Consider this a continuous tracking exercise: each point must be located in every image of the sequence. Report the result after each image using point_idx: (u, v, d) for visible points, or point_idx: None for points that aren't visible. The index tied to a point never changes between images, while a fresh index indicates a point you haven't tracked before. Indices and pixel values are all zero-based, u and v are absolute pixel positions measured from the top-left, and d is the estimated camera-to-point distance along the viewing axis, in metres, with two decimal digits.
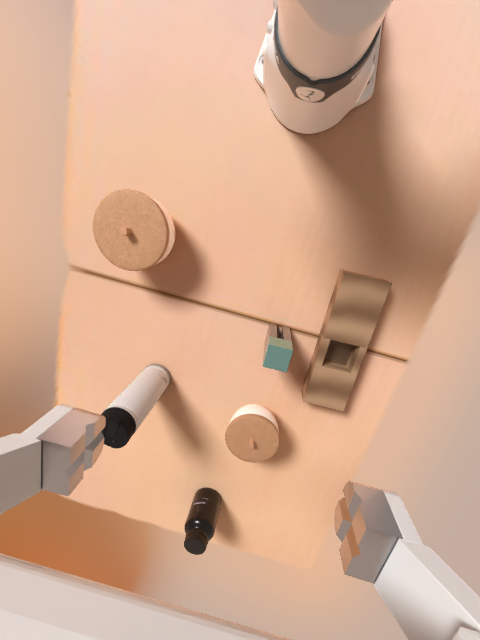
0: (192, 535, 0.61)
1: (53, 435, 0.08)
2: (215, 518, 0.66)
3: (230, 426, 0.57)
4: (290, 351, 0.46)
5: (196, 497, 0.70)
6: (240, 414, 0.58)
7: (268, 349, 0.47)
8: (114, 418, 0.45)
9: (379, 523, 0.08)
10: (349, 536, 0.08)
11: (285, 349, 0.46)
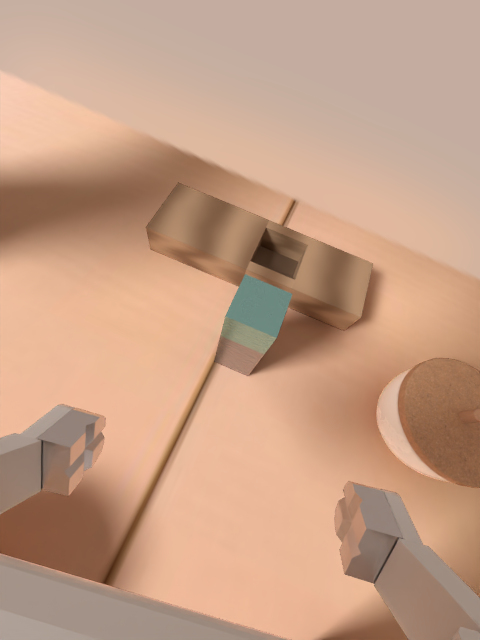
0: None
1: (53, 435, 0.08)
2: None
3: (438, 465, 0.23)
4: (246, 279, 0.23)
5: None
6: (403, 437, 0.25)
7: (237, 318, 0.21)
8: None
9: (379, 523, 0.08)
10: (349, 536, 0.08)
11: (241, 286, 0.22)
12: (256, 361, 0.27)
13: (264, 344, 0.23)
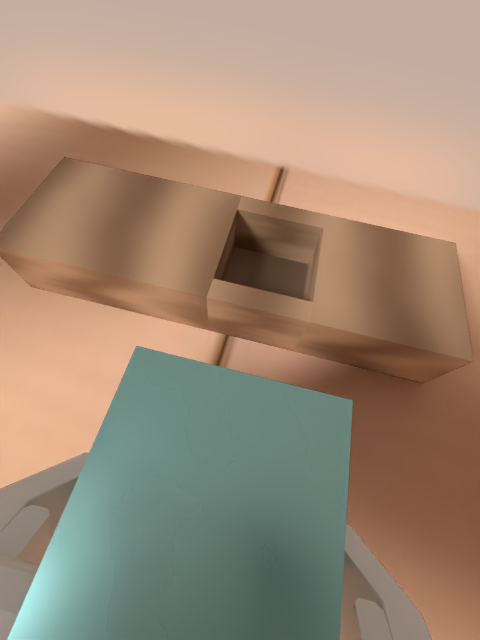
0: None
1: None
2: None
3: None
4: (141, 369, 0.05)
5: None
6: None
7: None
8: None
9: None
10: None
11: (115, 414, 0.05)
12: None
13: None
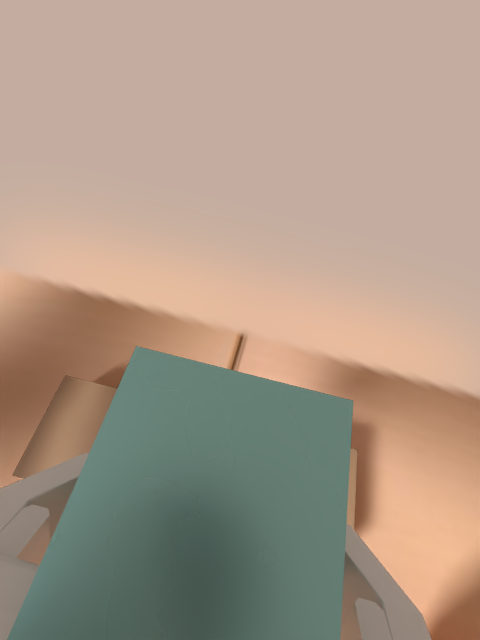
0: None
1: None
2: None
3: None
4: (141, 370, 0.05)
5: None
6: None
7: None
8: None
9: None
10: None
11: (114, 415, 0.05)
12: None
13: None
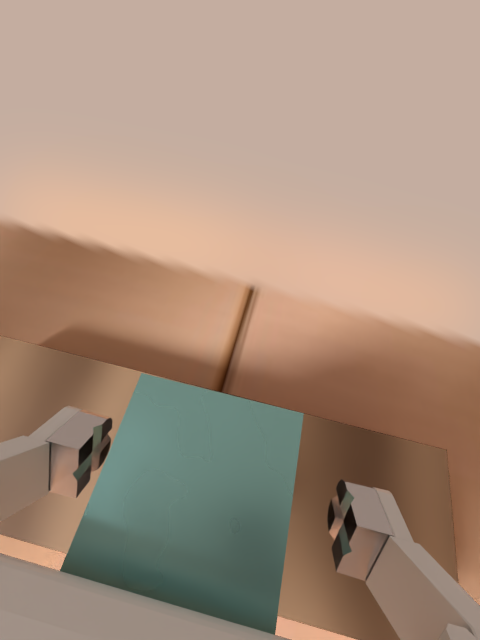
0: None
1: (61, 437, 0.08)
2: None
3: None
4: (145, 391, 0.07)
5: None
6: None
7: (105, 580, 0.05)
8: None
9: (370, 521, 0.08)
10: (341, 534, 0.08)
11: (126, 426, 0.07)
12: None
13: None
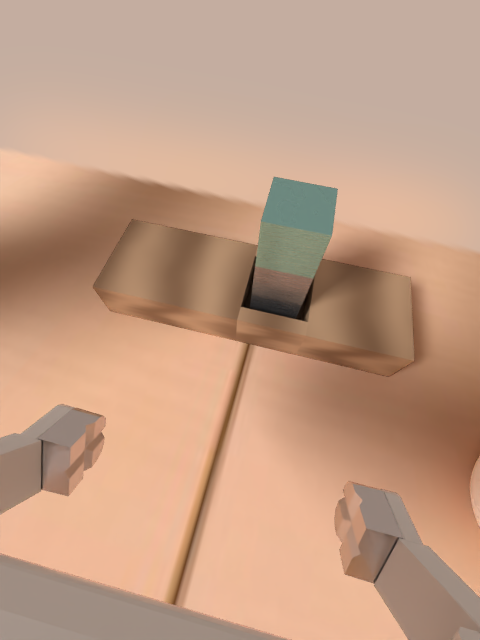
0: None
1: (53, 435, 0.08)
2: None
3: None
4: (277, 181, 0.18)
5: None
6: None
7: (276, 221, 0.16)
8: None
9: (379, 523, 0.08)
10: (349, 536, 0.08)
11: (272, 189, 0.18)
12: (302, 297, 0.22)
13: (314, 257, 0.18)
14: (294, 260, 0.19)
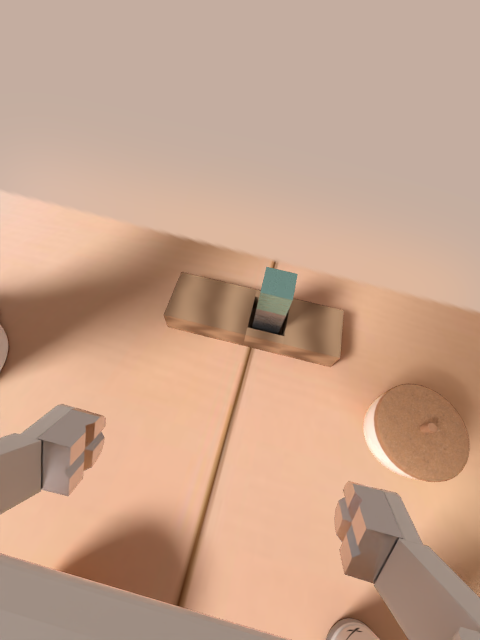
0: None
1: (53, 435, 0.08)
2: None
3: (408, 469, 0.32)
4: (268, 269, 0.37)
5: None
6: (382, 451, 0.34)
7: (267, 292, 0.35)
8: None
9: (379, 523, 0.08)
10: (349, 536, 0.08)
11: (265, 274, 0.36)
12: (281, 323, 0.41)
13: (285, 307, 0.37)
14: (276, 307, 0.37)
